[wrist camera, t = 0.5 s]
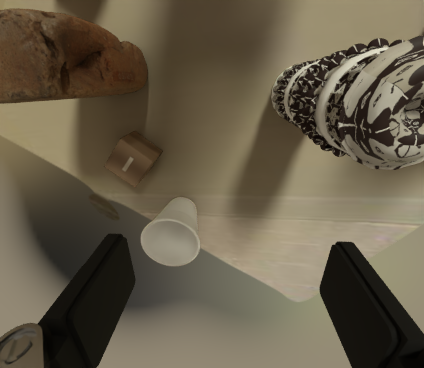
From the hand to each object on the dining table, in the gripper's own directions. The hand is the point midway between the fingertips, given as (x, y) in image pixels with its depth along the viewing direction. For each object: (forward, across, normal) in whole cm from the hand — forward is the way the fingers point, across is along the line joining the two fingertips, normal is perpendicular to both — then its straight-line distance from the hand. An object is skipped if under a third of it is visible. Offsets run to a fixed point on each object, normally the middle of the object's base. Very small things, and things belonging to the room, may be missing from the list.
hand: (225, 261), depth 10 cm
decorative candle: (+31, -11, -5) cm, 34 cm away
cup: (+31, +9, +17) cm, 37 cm away
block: (+31, +18, -9) cm, 37 cm away
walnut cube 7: (+31, +16, +5) cm, 35 cm away
